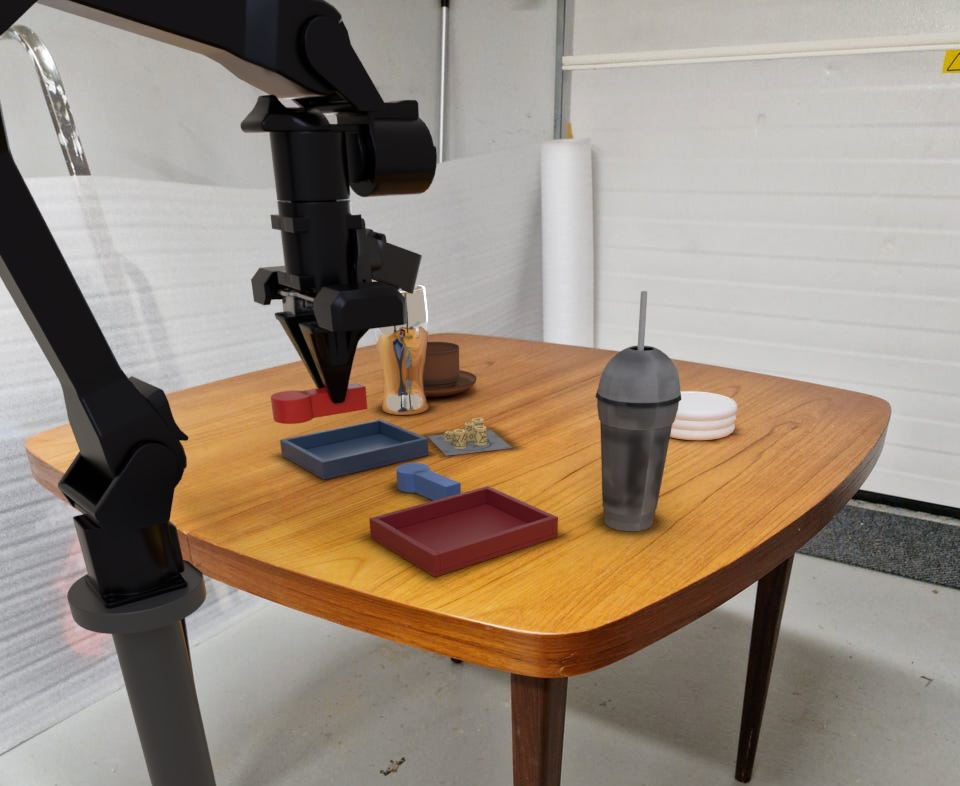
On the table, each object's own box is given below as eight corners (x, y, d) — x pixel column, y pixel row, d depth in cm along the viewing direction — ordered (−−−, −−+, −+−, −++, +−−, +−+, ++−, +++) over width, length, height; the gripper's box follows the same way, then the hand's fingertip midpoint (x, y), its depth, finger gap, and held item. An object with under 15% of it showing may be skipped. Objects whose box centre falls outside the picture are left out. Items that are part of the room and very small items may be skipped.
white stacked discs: (752, 432, 102) (756, 403, 100) (689, 446, 98) (692, 416, 96) (693, 413, 109) (696, 386, 108) (633, 426, 105) (635, 397, 103)
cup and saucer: (424, 408, 113) (422, 360, 110) (375, 391, 122) (372, 346, 118) (493, 393, 120) (493, 347, 117) (443, 377, 128) (441, 335, 125)
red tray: (434, 577, 69) (433, 555, 68) (370, 537, 76) (368, 518, 75) (557, 536, 76) (558, 516, 75) (488, 504, 83) (488, 485, 82)
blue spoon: (467, 500, 84) (467, 480, 83) (440, 508, 82) (439, 489, 81) (417, 479, 89) (416, 460, 88) (390, 486, 87) (389, 467, 86)
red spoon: (355, 402, 78) (353, 380, 77) (371, 411, 75) (369, 388, 74) (268, 417, 74) (264, 393, 73) (282, 426, 72) (278, 402, 71)
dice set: (481, 433, 103) (481, 417, 102) (495, 445, 99) (495, 428, 98) (441, 437, 102) (441, 421, 101) (454, 450, 98) (453, 433, 97)
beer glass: (430, 416, 110) (425, 291, 103) (376, 416, 110) (367, 292, 103) (433, 402, 116) (428, 283, 109) (382, 402, 116) (374, 284, 109)
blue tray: (324, 479, 89) (322, 462, 88) (281, 456, 97) (279, 439, 96) (428, 455, 96) (428, 438, 95) (381, 434, 103) (380, 418, 102)
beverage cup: (673, 511, 80) (698, 284, 70) (662, 541, 74) (686, 297, 64) (597, 503, 83) (610, 281, 72) (580, 532, 77) (592, 294, 67)
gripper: (463, 200, 64) (467, 409, 72) (357, 192, 77) (370, 368, 85) (324, 207, 59) (345, 431, 67) (237, 197, 72) (263, 383, 80)
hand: (333, 400), depth 75 cm, fingers closed on red spoon, 2 cm apart
